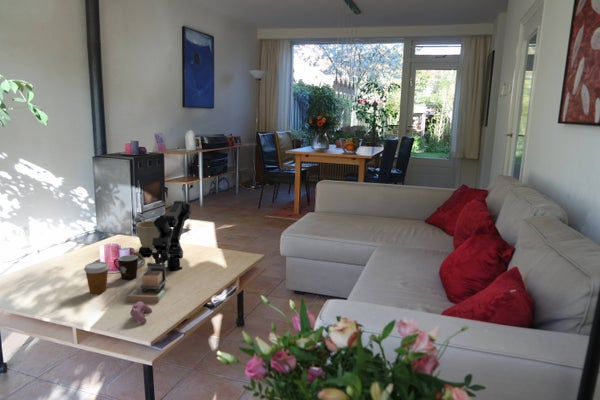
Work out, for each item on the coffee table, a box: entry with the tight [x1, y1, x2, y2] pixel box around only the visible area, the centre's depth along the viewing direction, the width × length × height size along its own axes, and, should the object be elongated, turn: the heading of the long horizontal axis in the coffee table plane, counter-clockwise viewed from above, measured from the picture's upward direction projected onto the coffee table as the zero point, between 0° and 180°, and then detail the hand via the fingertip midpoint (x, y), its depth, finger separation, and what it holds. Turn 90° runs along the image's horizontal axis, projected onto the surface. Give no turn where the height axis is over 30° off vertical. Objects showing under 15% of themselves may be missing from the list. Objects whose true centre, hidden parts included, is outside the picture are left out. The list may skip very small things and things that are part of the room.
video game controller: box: [130, 302, 153, 324], centre depth 163 cm, size 10×5×7 cm, turn 5°
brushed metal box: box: [140, 262, 167, 294], centre depth 189 cm, size 9×8×10 cm
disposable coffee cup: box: [83, 261, 110, 295], centre depth 186 cm, size 10×10×12 cm
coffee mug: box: [113, 254, 139, 281], centre depth 203 cm, size 12×9×10 cm
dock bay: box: [126, 288, 166, 304], centre depth 181 cm, size 9×13×3 cm
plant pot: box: [135, 220, 159, 250], centre depth 242 cm, size 15×15×16 cm
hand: (157, 269), depth 193 cm, fingers closed
